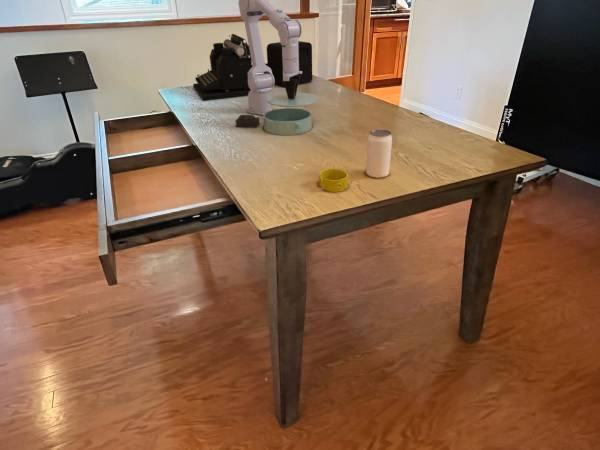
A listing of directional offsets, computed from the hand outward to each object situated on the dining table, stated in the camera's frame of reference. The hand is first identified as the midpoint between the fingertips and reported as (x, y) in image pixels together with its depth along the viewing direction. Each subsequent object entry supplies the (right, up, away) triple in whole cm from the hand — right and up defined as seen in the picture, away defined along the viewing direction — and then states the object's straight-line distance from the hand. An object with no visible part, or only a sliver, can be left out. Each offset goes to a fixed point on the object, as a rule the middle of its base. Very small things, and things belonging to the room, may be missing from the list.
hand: (291, 97), depth 153 cm
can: (+25, -33, -36) cm, 55 cm away
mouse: (-17, -9, +6) cm, 20 cm away
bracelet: (+12, -37, -42) cm, 57 cm away
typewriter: (-35, +21, +57) cm, 71 cm away
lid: (0, -1, +1) cm, 1 cm away
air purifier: (-2, +29, +70) cm, 76 cm away
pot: (-2, -11, +3) cm, 11 cm away
